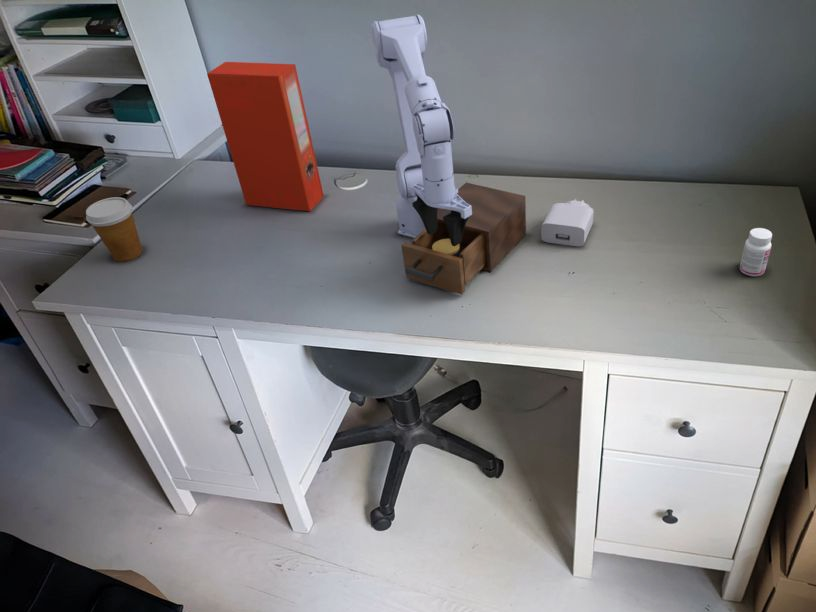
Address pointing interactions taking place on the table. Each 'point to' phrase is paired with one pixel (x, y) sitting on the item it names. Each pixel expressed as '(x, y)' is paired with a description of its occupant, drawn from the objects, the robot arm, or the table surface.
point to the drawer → (445, 259)
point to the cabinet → (493, 219)
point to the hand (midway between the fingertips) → (444, 237)
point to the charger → (568, 223)
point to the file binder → (267, 134)
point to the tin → (446, 247)
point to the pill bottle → (756, 252)
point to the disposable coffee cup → (115, 227)
